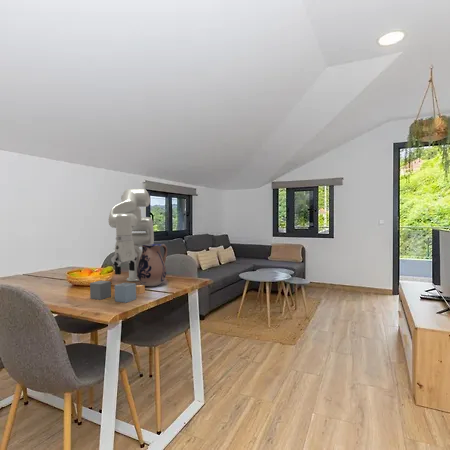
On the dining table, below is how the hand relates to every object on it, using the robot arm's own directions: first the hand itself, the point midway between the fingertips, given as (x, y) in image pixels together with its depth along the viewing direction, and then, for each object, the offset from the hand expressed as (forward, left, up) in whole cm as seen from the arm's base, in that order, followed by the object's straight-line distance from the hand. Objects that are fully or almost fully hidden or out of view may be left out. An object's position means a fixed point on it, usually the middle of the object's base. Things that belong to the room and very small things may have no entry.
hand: (125, 272), depth 156 cm
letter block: (-14, -4, -14) cm, 21 cm away
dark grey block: (+1, -16, -14) cm, 21 cm away
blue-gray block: (0, 0, -14) cm, 14 cm away
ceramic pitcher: (-34, -10, -14) cm, 39 cm away
